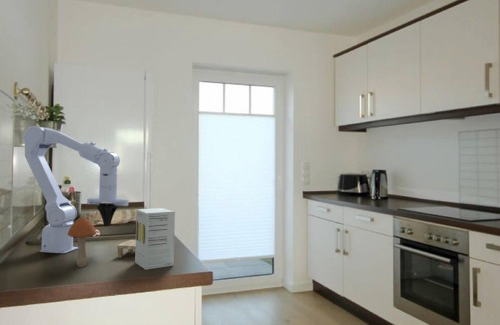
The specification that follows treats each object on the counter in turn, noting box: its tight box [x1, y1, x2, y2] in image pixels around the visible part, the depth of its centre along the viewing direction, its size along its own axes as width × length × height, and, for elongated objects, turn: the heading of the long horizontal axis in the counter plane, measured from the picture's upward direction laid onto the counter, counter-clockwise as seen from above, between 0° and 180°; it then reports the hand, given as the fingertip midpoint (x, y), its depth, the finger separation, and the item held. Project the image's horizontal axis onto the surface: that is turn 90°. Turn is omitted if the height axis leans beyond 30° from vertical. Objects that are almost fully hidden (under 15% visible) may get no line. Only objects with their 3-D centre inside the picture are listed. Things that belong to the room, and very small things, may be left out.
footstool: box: [116, 239, 136, 258], centre depth 128 cm, size 4×9×9 cm
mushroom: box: [68, 216, 97, 268], centre depth 113 cm, size 8×8×15 cm
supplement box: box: [134, 207, 176, 271], centre depth 117 cm, size 10×9×17 cm
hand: (107, 225), depth 132 cm, fingers closed
